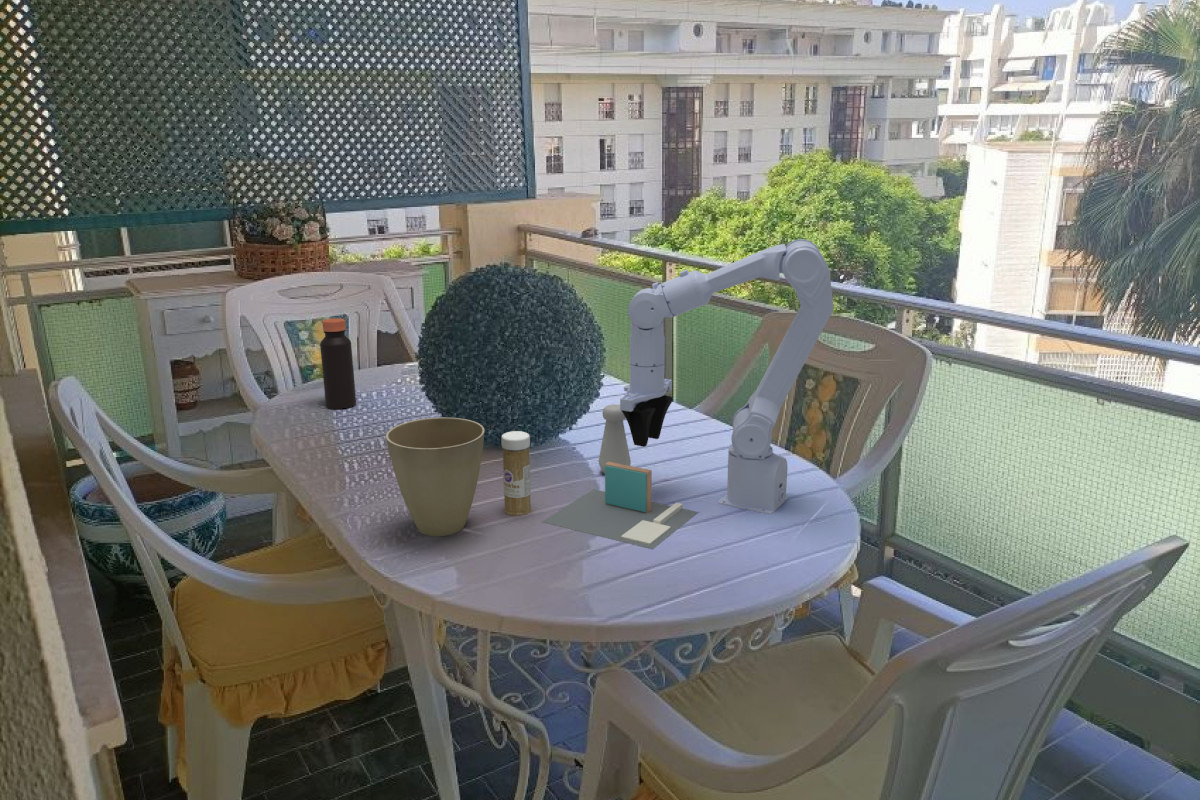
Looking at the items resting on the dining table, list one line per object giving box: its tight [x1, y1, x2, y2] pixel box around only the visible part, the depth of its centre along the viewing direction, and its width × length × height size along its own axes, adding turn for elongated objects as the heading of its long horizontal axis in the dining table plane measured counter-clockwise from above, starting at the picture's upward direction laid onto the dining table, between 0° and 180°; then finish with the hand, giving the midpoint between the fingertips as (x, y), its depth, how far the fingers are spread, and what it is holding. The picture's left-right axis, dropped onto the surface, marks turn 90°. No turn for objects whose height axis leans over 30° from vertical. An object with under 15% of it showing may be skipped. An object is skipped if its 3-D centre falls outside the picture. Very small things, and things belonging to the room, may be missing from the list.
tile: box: [604, 462, 653, 513], centre depth 149 cm, size 8×2×7 cm, turn 59°
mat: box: [541, 489, 699, 550], centre depth 147 cm, size 20×16×1 cm
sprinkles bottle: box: [501, 430, 532, 516], centre depth 148 cm, size 5×5×14 cm
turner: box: [621, 502, 684, 545], centre depth 144 cm, size 15×5×1 cm, turn 149°
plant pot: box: [385, 417, 485, 537], centre depth 142 cm, size 15×15×16 cm
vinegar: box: [319, 317, 357, 410], centre depth 207 cm, size 7×7×20 cm
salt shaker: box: [598, 403, 632, 475], centre depth 164 cm, size 6×6×13 cm
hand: (646, 441), depth 153 cm, fingers open, 4 cm apart
